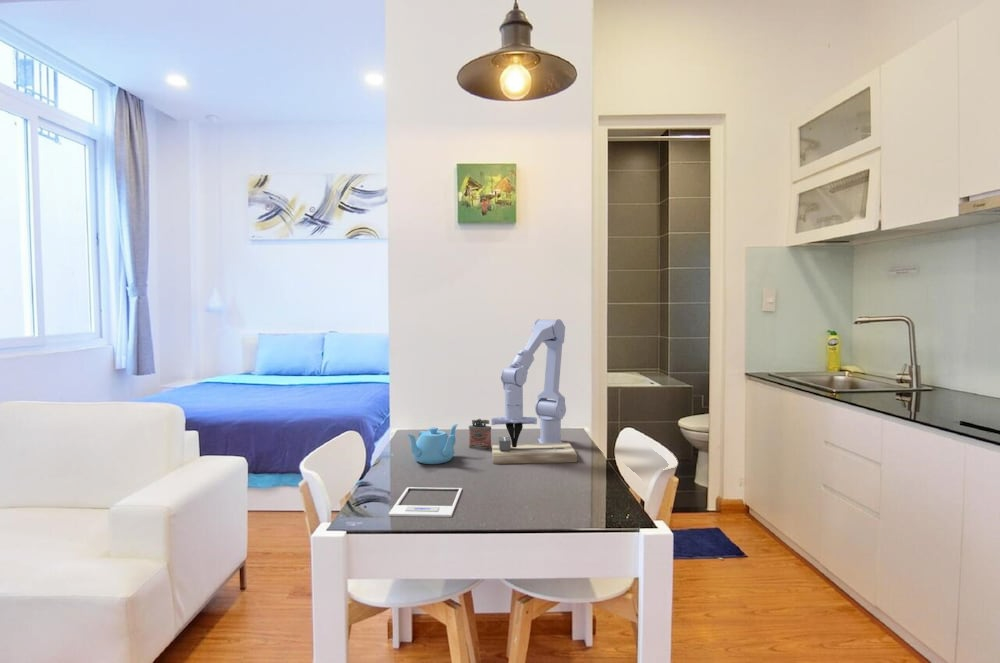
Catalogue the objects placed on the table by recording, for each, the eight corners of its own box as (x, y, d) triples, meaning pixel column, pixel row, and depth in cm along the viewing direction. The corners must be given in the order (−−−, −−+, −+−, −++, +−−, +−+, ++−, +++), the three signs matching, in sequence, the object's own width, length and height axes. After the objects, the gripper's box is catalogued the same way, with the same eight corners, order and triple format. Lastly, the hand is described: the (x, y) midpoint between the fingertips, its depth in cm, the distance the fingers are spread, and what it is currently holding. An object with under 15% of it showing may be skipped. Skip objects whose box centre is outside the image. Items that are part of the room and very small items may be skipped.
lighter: (467, 448, 176) (467, 419, 176) (470, 445, 180) (470, 417, 179) (489, 450, 174) (489, 420, 174) (492, 447, 177) (492, 418, 177)
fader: (498, 446, 168) (498, 436, 167) (509, 446, 168) (509, 436, 168) (499, 450, 162) (499, 440, 162) (510, 450, 163) (510, 440, 162)
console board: (492, 451, 172) (492, 443, 172) (569, 450, 173) (569, 442, 173) (493, 463, 158) (493, 455, 158) (576, 462, 159) (576, 453, 159)
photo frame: (388, 512, 118) (407, 486, 136) (388, 517, 118) (407, 490, 136) (451, 514, 117) (461, 487, 135) (451, 518, 117) (461, 491, 135)
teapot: (416, 453, 171) (415, 423, 170) (461, 453, 170) (460, 422, 170) (406, 466, 156) (406, 433, 156) (455, 466, 156) (455, 433, 155)
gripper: (491, 407, 160) (492, 450, 161) (537, 406, 161) (538, 449, 161) (491, 403, 167) (491, 444, 168) (535, 402, 168) (535, 443, 168)
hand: (514, 446), depth 165 cm, fingers closed
